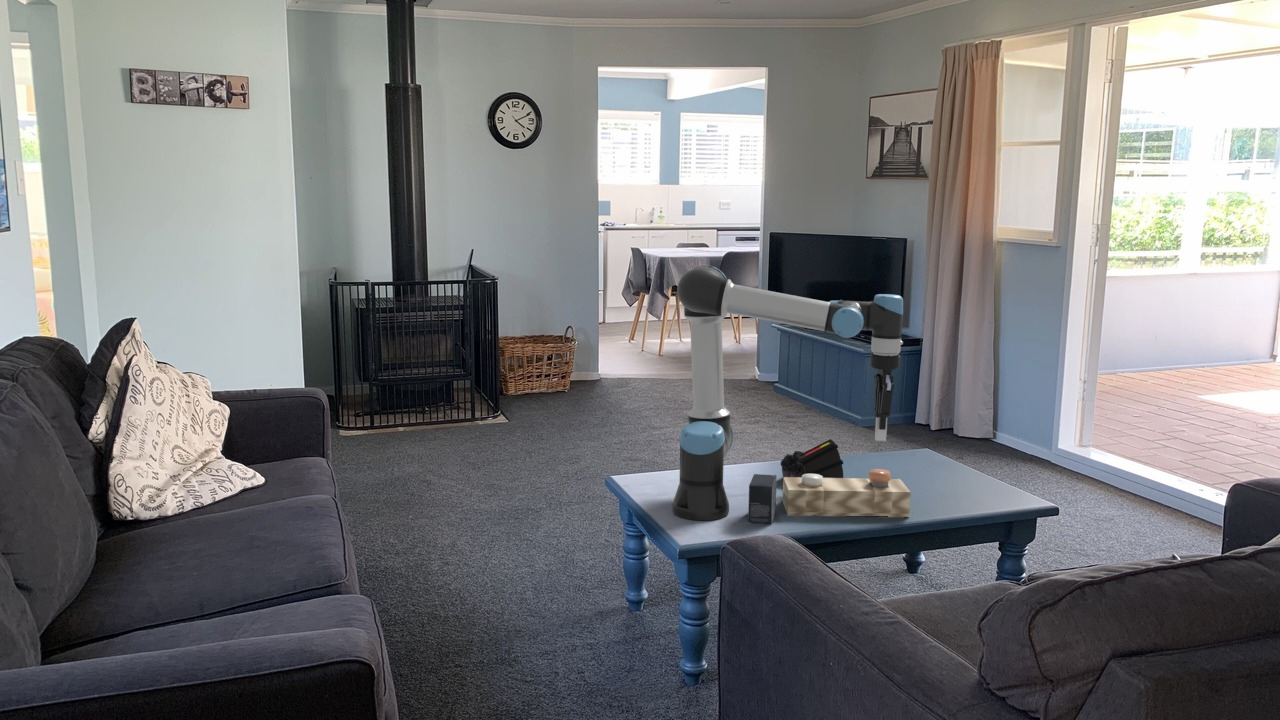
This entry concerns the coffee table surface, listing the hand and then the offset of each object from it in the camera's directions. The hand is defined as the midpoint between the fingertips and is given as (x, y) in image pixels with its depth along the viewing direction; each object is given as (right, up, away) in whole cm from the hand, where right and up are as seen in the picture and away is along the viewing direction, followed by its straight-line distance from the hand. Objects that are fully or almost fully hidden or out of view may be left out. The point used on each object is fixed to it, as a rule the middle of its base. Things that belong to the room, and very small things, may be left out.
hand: (880, 440), depth 259 cm
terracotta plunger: (0, -16, +3) cm, 16 cm away
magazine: (-12, -17, +19) cm, 28 cm away
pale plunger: (-18, -17, +3) cm, 25 cm away
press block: (-9, -19, +3) cm, 21 cm away
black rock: (-16, -15, +31) cm, 37 cm away
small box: (-32, -20, -4) cm, 38 cm away
